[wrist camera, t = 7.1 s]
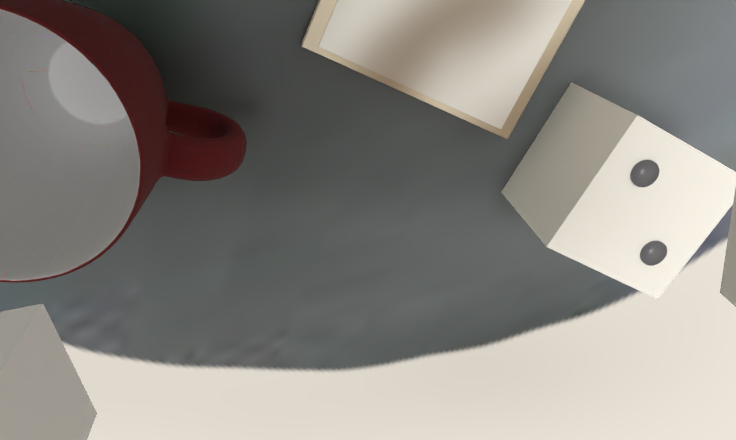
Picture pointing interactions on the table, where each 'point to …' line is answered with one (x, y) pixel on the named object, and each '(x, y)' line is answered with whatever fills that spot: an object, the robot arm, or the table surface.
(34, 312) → the robot arm
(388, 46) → the board
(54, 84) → the mug
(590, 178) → the die
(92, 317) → the table surface
